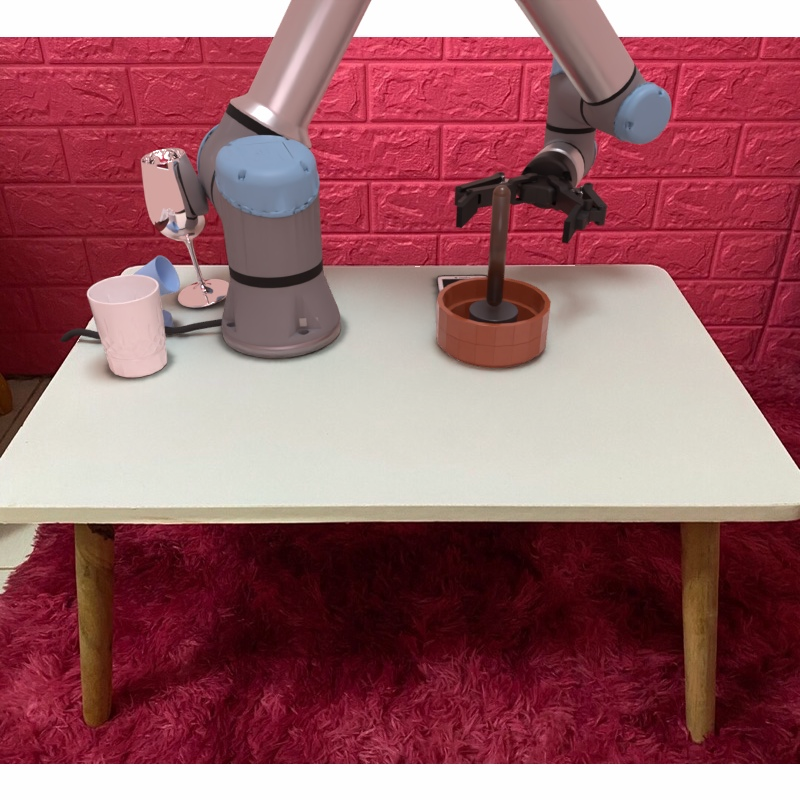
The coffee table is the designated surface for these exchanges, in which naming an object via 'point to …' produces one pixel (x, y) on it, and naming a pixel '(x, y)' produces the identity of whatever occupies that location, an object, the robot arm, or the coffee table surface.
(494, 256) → the peg on round base
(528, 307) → the bowl
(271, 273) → the robot arm
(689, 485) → the coffee table surface
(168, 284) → the spotlight
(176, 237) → the wineglass
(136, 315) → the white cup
